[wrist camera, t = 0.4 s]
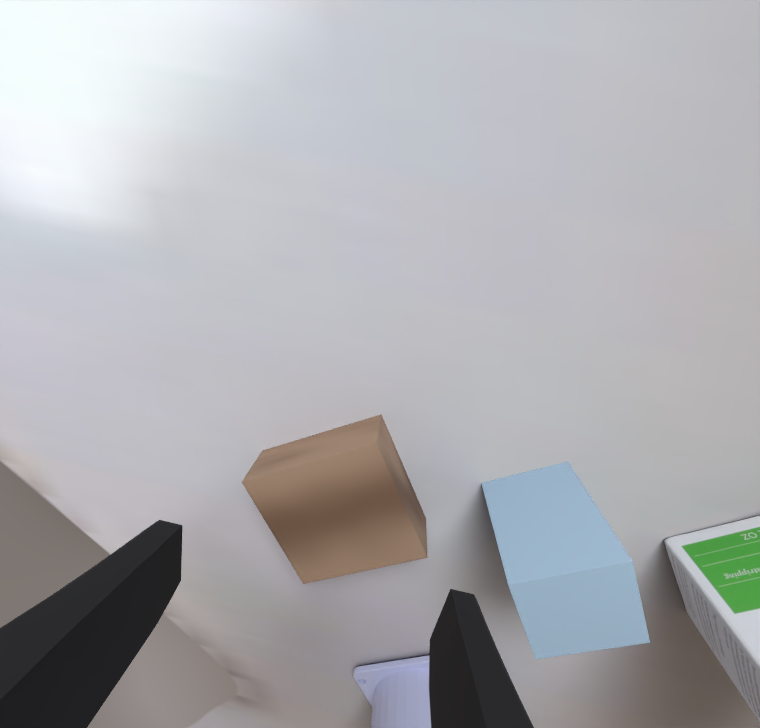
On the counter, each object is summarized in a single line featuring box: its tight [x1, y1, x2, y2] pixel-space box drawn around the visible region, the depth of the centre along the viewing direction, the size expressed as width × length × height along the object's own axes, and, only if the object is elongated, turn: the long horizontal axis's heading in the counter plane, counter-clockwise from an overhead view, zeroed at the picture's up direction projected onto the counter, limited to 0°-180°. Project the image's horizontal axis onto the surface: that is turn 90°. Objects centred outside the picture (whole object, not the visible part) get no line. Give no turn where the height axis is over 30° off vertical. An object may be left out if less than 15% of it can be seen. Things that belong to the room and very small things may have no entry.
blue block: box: [481, 462, 650, 659], centre depth 17 cm, size 4×4×6 cm
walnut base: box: [242, 415, 427, 584], centre depth 19 cm, size 7×7×3 cm
